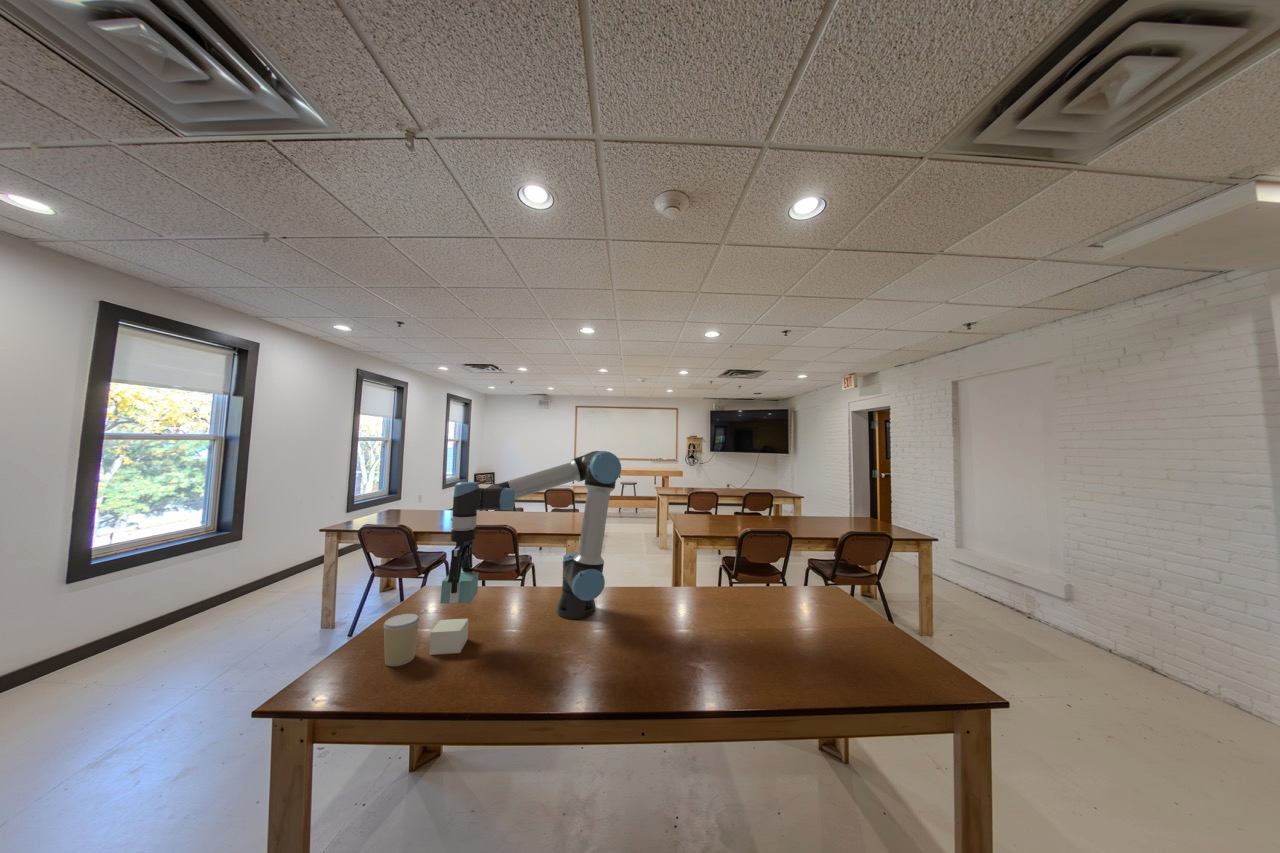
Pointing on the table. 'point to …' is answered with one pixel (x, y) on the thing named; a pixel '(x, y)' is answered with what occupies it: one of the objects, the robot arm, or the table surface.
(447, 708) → the table surface
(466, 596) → the teal block
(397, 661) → the coffee cup
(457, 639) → the cream block
